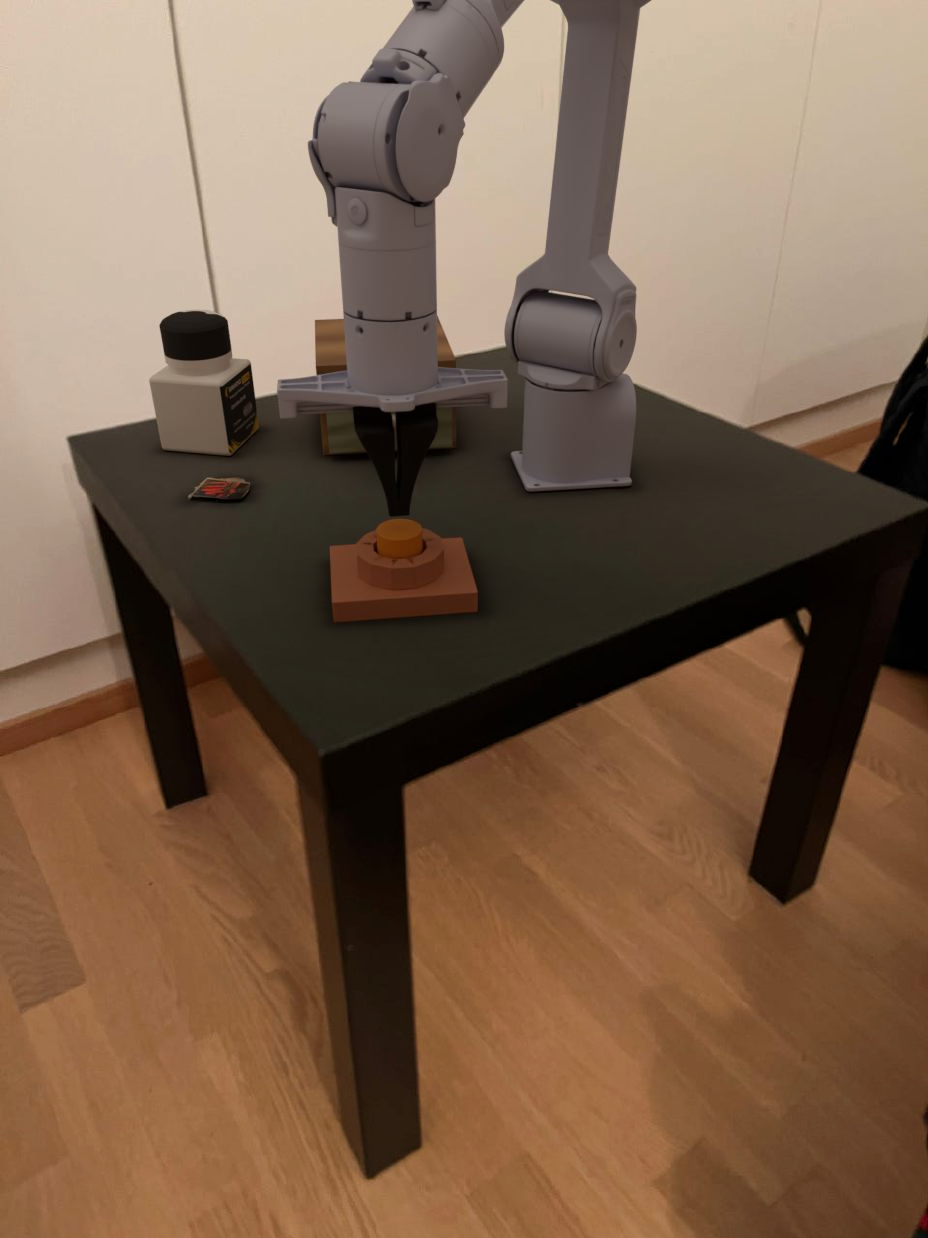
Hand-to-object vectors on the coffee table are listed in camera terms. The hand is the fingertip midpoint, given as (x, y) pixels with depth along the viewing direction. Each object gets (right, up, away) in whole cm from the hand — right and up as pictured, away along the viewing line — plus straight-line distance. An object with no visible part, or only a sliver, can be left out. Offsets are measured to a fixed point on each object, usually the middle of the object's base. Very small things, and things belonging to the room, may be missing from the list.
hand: (398, 509), depth 64 cm
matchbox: (-16, +3, +17) cm, 24 cm away
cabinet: (-3, +12, +30) cm, 33 cm away
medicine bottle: (-20, +10, +27) cm, 35 cm away
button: (0, -3, +2) cm, 3 cm away
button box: (0, -5, +4) cm, 6 cm away
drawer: (-3, +11, +26) cm, 28 cm away
